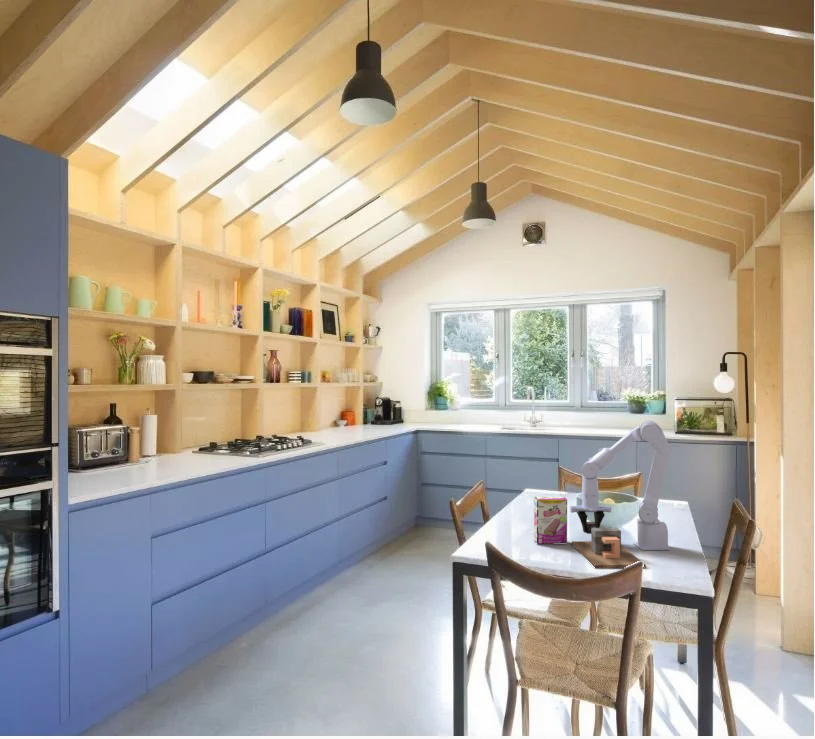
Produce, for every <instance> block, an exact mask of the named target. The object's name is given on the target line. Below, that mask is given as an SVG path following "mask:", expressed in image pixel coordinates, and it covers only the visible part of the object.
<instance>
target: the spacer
mask: <svg viewBox="0 0 815 739" xmlns="http://www.w3.org/2000/svg"><path fill="white" fill-rule="evenodd" d="M601 540H602V541H603V542H604V543H611V551H602V556H603V557H604V558H620V539H618V538H617V537H601Z"/></svg>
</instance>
